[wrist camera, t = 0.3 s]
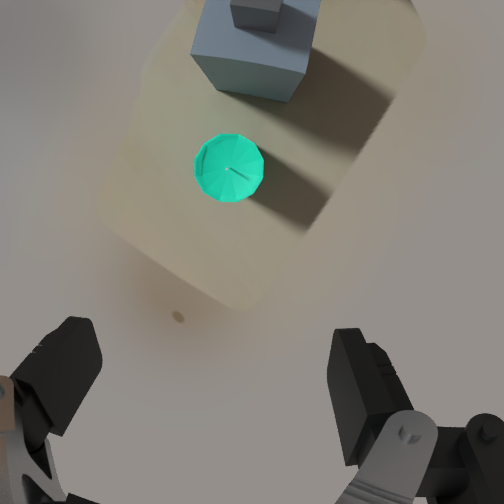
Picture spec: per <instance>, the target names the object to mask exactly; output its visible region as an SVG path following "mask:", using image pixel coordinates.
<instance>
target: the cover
mask: <svg viewBox="0 0 504 504" xmlns="http://www.w3.org/2000/svg"><path fill="white" fill-rule="evenodd" d="M320 2H321V0H206V2H205V5H204V8H203V11H202V14H201V17H200V21H199V24H198V28H197V31H196V34H195V38H194V42H193V45H192V49H191V53H190V55H191V56H192V57H193V59H194V60H195V61H196V63H197V64H198V65H199V67H200V68H201V69H202V71H203V72H204V73H205V75H206V76H207V77H208V79H209V80H210V82H211V83H212V84H213V86H214V87H215V88H216V90H222V91H229V92H235V93H241V94H246V95H252V96H257V97H262V98H267V99H272V100H276V101H281V102H285V103H288V101H289V100H290V98H291V97H292V95H293V93H294V92H295V90H296V88H297V87H298V85H299V84H300V82H301V80H302V79H303V77H304V75H305V74H306V69H307V65H308V60H309V55H310V51H311V46H312V41H313V36H314V31H315V26H316V22H317V17H318V12H319V7H320Z"/></svg>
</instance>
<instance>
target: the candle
mask: <svg viewBox="0 0 504 504" xmlns="http://www.w3.org/2000/svg"><path fill="white" fill-rule="evenodd" d="M263 169H264V159H263V157H262V156H261V154H260V152H259V150H258V148H257V146H256V145H255V143H253V142H251V141H250V140H248V139H246V138H245V137H243V136H241V135H240V134H219V135H217V136H215V137H214V138H212V139H210V140H209V141H207V142H205V143H204V144H203V146H202V148H201V149H200V151H199V152H198V154H197V155H196V157H195V159H194V177H195V179H196V180H197V182H198V184H199V186H200V187H201V189H202V191H203V192H204V193H205V194H207V195H209V196H211V197H212V198H214V199H216V200H218V201H221V202H238V201H240V200H242V199H244V198H246V197H248V196H250V195H252V194H254V192H255V190H256V189H257V187H258V186H259V184H260V182H261V181H262V179H263Z"/></svg>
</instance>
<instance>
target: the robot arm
mask: <svg viewBox="0 0 504 504" xmlns="http://www.w3.org/2000/svg"><path fill="white" fill-rule="evenodd" d="M101 368H102V354H101V350H100V347H99V344H98V341H97V337H96V334H95V330H94V327H93V324H92V321H91V320H90V319H88V318H81V317H73V316H70V317H68V318H67V319H66V320H65V321H64V322H63V323H62V324H61V325H60V326H59V327H58V328H57V329H56V330H54V331H52V332H51V333H49V334H47V335H46V336H45V337H44V338H43V339H42V340H41V342H40V343H39V345H38V346H36V347H35V348H34V349H33V351H32V353H30V354H29V355H28V356H27V357H26V358H25V359H24V361H23V362H22V363H21V364H20V365H19V366H18V368H17V369H16V370H15V371H14V372H13V373H12V375H11V376H10V377H7V376H0V504H99V503H95V502H93V501H89V500H87V499H84V498H82V497H79V496H76V495H74V494H71V493H69V494H68V496H67V497H66V496H65V494H64V492H63V491H62V489H61V487H60V484H59V481H58V477H57V473H56V469H55V465H54V461H53V456H52V452H51V447H50V443H49V440H48V439H47V435H48V433H49V432H50V433H53V434H56V435H59V436H61V437H62V436H63V434H64V433H65V431H66V429H67V427H68V425H69V424H70V422H71V420H72V418H73V416H74V414H75V413H76V411H77V409H78V408H79V406H80V404H81V402H82V400H83V399H84V397H85V396H86V394H87V392H88V391H89V389H90V387H91V385H92V384H93V382H94V380H95V379H96V377H97V376H98V374H99V372H100V370H101ZM327 383H328V388H329V392H330V397H331V401H332V405H333V409H334V414H335V418H336V423H337V428H338V432H339V436H340V442H341V446H342V451H343V456H344V460H345V465H346V466H352V465H358V469H359V471H358V472H357V474H356V475H355V477H354V478H353V480H352V481H351V483H349V485H348V486H347V487H346V489H345V490H344V491H343V493H342V494H341V496H340V497H339V499H338V500H337V501H336V503H335V504H412V503H413V500H414V498H415V497H426V499H427V503H428V504H504V422H503V421H502V420H501V419H500V418H498V417H497V416H495V415H492V414H487V413H483V414H478V415H476V416H474V417H473V418H471V419H470V421H469V422H468V424H467V425H466V427H438V426H436V424H435V423H434V421H433V420H432V419H431V418H430V417H429V416H427V415H426V414H424V413H422V412H419V411H415V410H414V408H413V406H412V404H411V402H410V400H409V398H408V396H407V393H406V391H405V389H404V387H403V385H402V383H401V381H400V379H399V377H398V376H397V375H396V371H395V369H394V367H393V366H392V363H391V361H390V359H389V357H388V355H387V353H386V352H385V351H384V350H383V349H381V348H380V347H379V346H378V345H377V344H375V343H366V341H365V339H364V337H363V335H362V332H361V331H360V329H359V328H346V329H335V331H334V333H333V339H332V345H331V351H330V356H329V362H328V367H327Z"/></svg>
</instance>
